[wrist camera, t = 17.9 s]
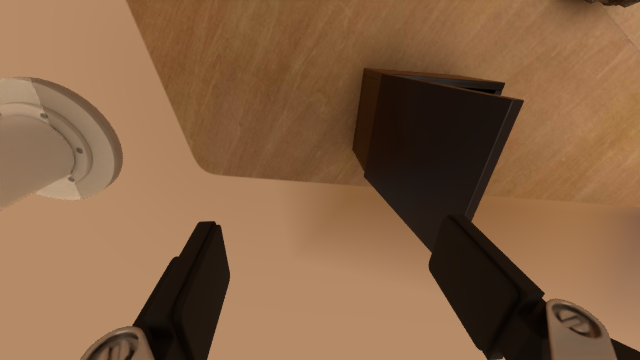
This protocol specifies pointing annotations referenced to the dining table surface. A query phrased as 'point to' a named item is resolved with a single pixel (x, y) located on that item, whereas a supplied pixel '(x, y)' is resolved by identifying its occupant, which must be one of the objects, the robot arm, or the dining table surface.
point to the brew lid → (435, 149)
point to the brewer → (374, 77)
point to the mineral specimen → (615, 2)
